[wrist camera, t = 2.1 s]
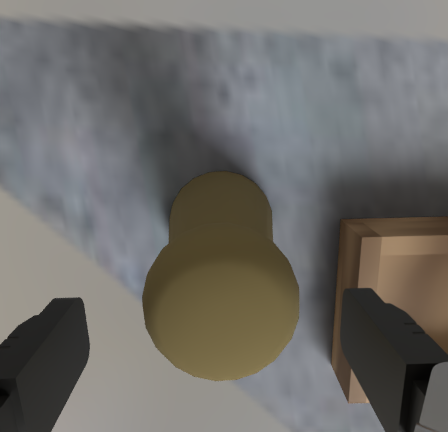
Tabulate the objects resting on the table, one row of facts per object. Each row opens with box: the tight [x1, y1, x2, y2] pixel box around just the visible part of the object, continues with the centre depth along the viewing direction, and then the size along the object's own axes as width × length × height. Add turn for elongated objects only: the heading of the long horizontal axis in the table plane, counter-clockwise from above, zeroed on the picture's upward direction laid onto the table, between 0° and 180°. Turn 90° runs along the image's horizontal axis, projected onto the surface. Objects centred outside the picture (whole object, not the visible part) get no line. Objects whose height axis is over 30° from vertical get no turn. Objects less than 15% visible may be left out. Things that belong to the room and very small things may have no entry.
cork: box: [142, 171, 299, 381], centre depth 16 cm, size 6×6×11 cm
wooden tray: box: [331, 216, 448, 403], centre depth 21 cm, size 10×10×3 cm
